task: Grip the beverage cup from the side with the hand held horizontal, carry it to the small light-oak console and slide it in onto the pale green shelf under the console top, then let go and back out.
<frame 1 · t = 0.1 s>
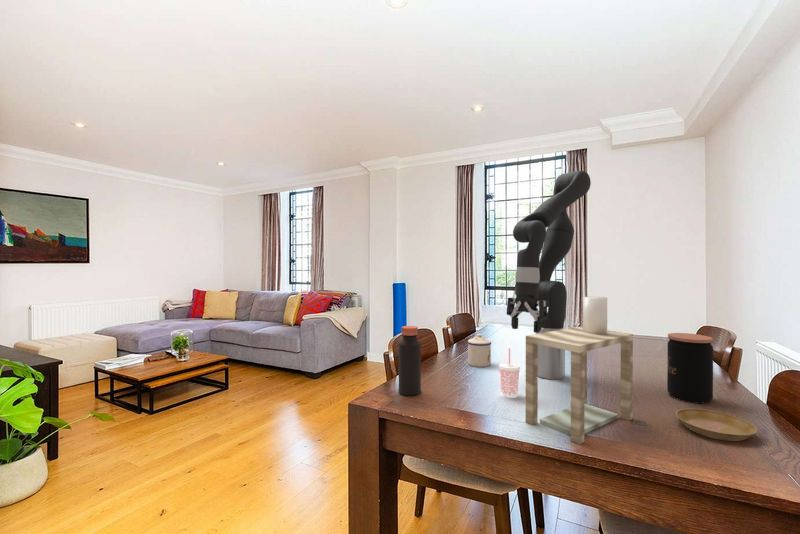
hand: (525, 330, 125), 17 cm above the table, tool pointing down, fingers open, 8 cm apart
bottle: (409, 392, 116), on the table
console: (579, 420, 95), on the table
teacup with lid: (478, 363, 150), on the table
coffee jar: (689, 398, 111), on the table
plant saucer: (714, 432, 90), on the table
beverage cup: (509, 396, 113), on the table
candle: (594, 332, 99), point 21 cm above the table, touching console
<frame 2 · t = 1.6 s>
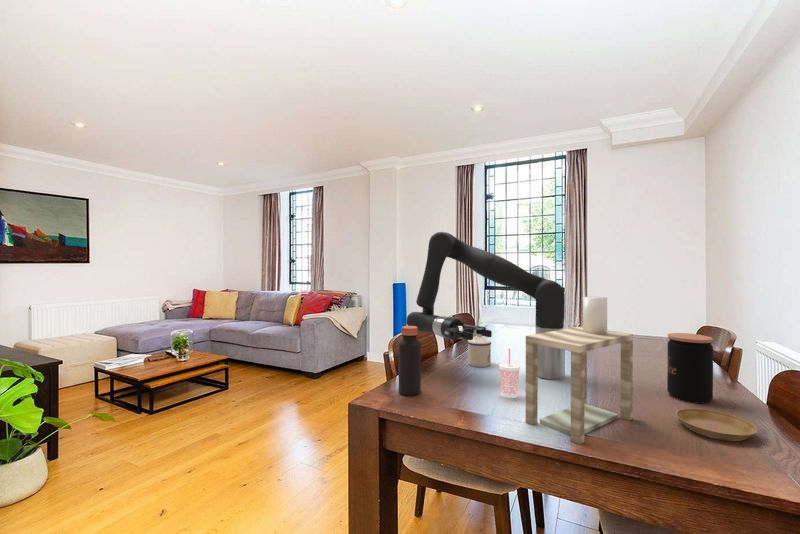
hand: (481, 335, 122), 16 cm above the table, tool horizontal, fingers open, 8 cm apart
nothing on the table moved.
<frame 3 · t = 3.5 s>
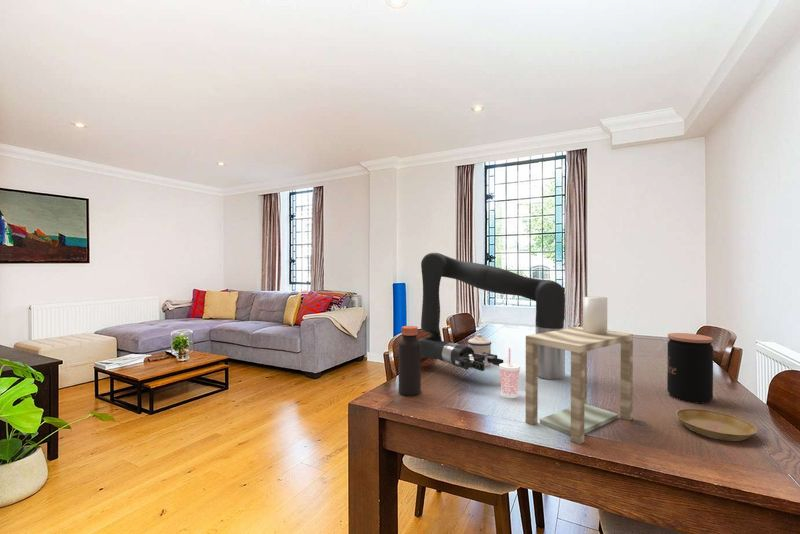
hand: (493, 365, 119), 8 cm above the table, tool horizontal, fingers open, 8 cm apart
nothing on the table moved.
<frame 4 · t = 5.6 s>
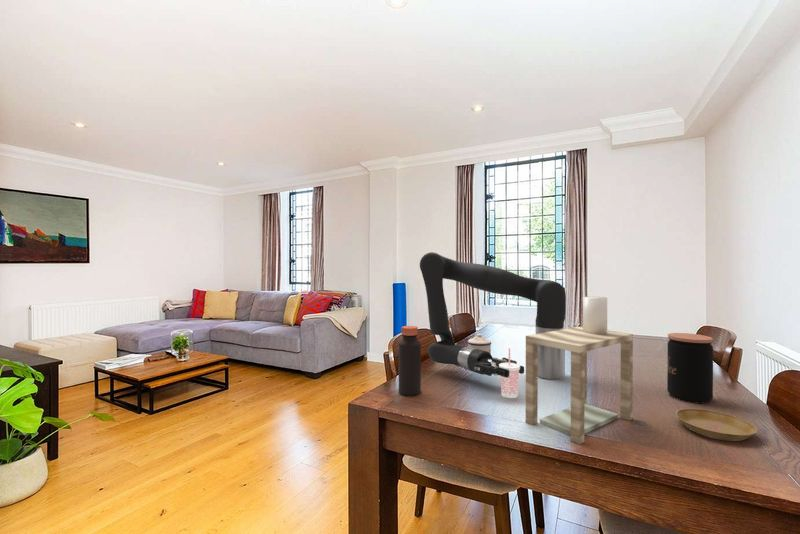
hand: (515, 372, 111), 8 cm above the table, tool horizontal, fingers closed on beverage cup, 6 cm apart
beverage cup: (509, 395, 113), on the table, touching gripper
everything else where it was.
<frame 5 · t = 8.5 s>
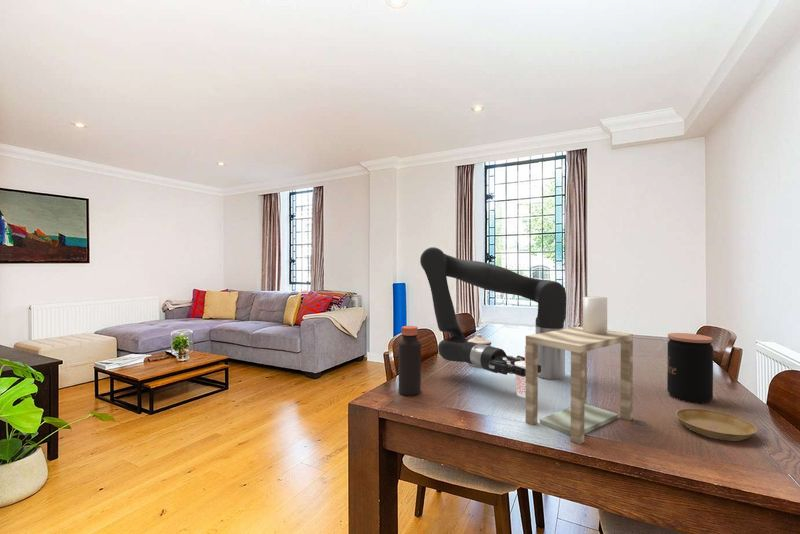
hand: (532, 371, 106), 9 cm above the table, tool horizontal, fingers closed on beverage cup, 6 cm apart
beverage cup: (525, 395, 109), point 2 cm above the table, touching gripper
everything else where it was.
when the fingers open (9 cm above the table, at t = 11.9 s): beverage cup stays where it is, resting on console.
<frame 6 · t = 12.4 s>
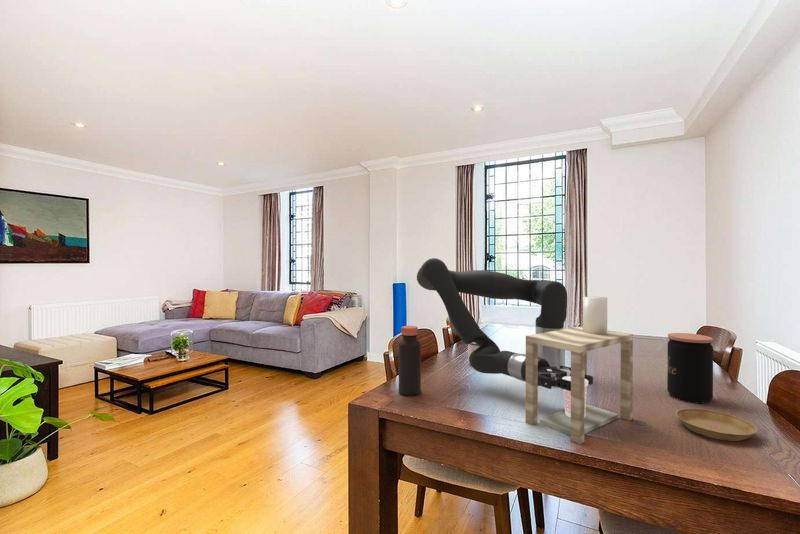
hand: (583, 383, 94), 10 cm above the table, tool horizontal, fingers open, 8 cm apart
beverage cup: (575, 415, 96), point 1 cm above the table, touching console
everything else where it was.
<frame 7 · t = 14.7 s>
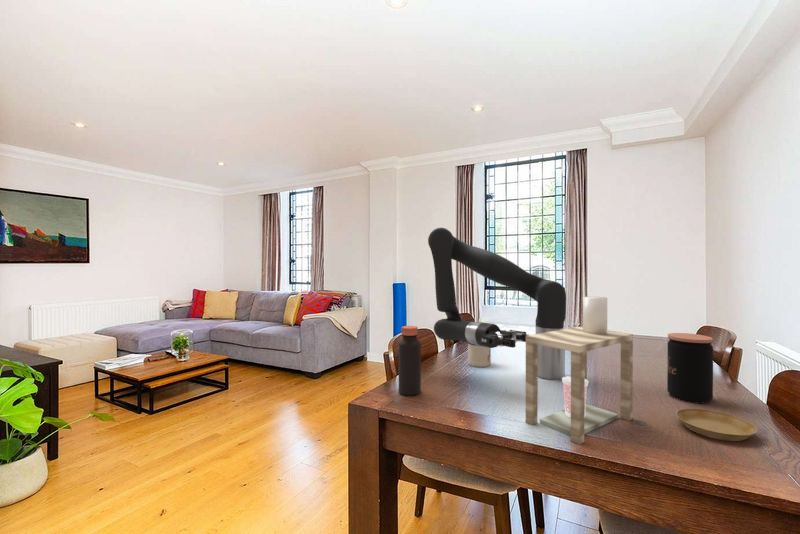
hand: (524, 341, 109), 17 cm above the table, tool horizontal, fingers open, 8 cm apart
nothing on the table moved.
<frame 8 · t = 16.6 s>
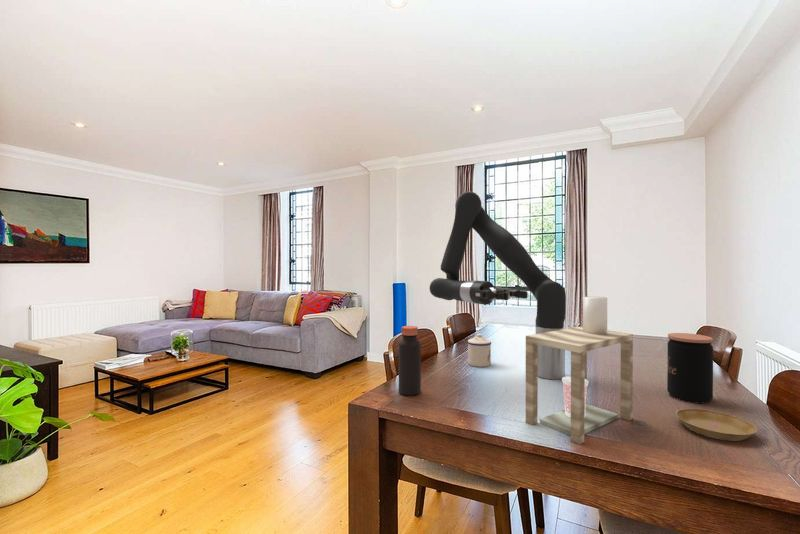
hand: (517, 295, 111), 30 cm above the table, tool horizontal, fingers open, 8 cm apart
nothing on the table moved.
at the end: beverage cup inside the target area (0.3 cm from its centre), point 0.8 cm above the table; beverage cup tilted 0°; the gripper is holding nothing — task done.
